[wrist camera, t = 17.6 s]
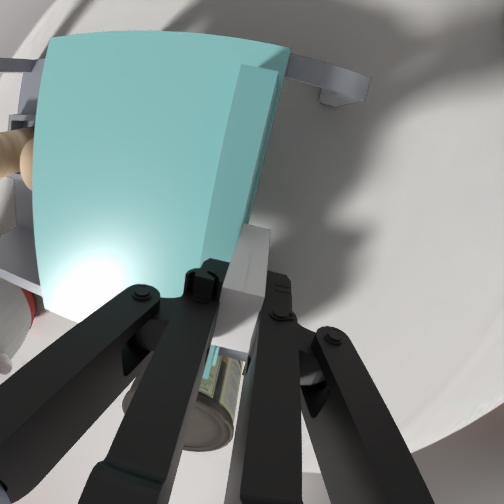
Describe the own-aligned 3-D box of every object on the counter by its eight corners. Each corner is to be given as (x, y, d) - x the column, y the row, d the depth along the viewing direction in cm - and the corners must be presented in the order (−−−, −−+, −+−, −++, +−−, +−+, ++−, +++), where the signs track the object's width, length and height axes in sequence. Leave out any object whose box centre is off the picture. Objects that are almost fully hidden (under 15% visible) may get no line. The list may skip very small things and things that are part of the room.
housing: (36, 61, 24) (-28, 60, 14) (338, 91, 24) (370, 77, 14) (26, 229, 33) (-26, 263, 23) (278, 298, 33) (275, 367, 24)
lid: (58, 39, 14) (19, 32, 10) (290, 52, 14) (293, 32, 10) (50, 302, 23) (24, 329, 19) (217, 357, 23) (207, 397, 20)
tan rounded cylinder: (110, 130, 25) (58, 139, 18) (105, 175, 27) (55, 197, 20) (74, 127, 25) (21, 136, 18) (70, 169, 27) (19, 188, 20)
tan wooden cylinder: (26, 125, 25) (-25, 135, 18) (52, 126, 25) (-1, 136, 18) (24, 162, 27) (-25, 180, 20) (49, 166, 27) (-2, 185, 20)
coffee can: (180, 361, 39) (148, 447, 26) (154, 298, 35) (102, 384, 22) (255, 359, 37) (243, 455, 25) (239, 291, 33) (216, 391, 21)
